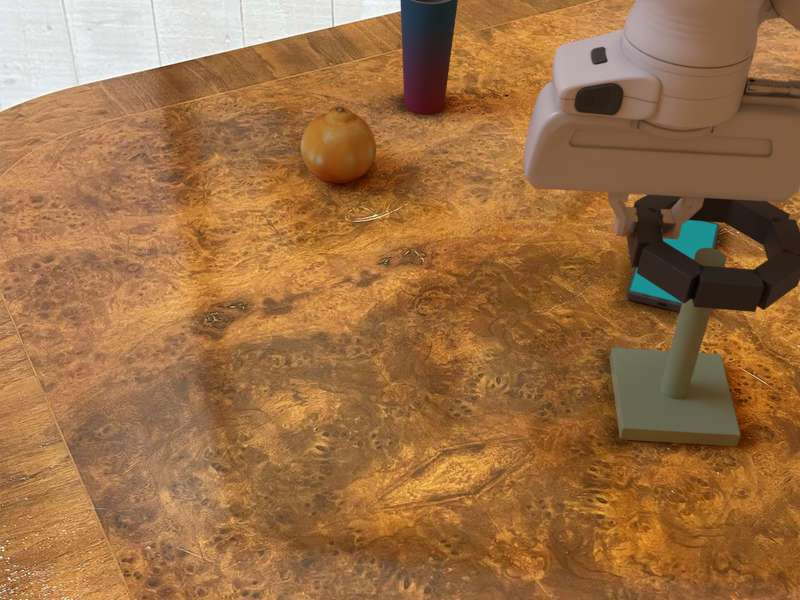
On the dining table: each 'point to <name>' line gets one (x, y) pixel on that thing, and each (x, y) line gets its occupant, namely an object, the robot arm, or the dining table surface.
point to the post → (676, 384)
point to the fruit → (338, 146)
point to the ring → (710, 285)
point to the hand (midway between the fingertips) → (645, 233)
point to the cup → (426, 52)
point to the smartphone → (688, 243)
